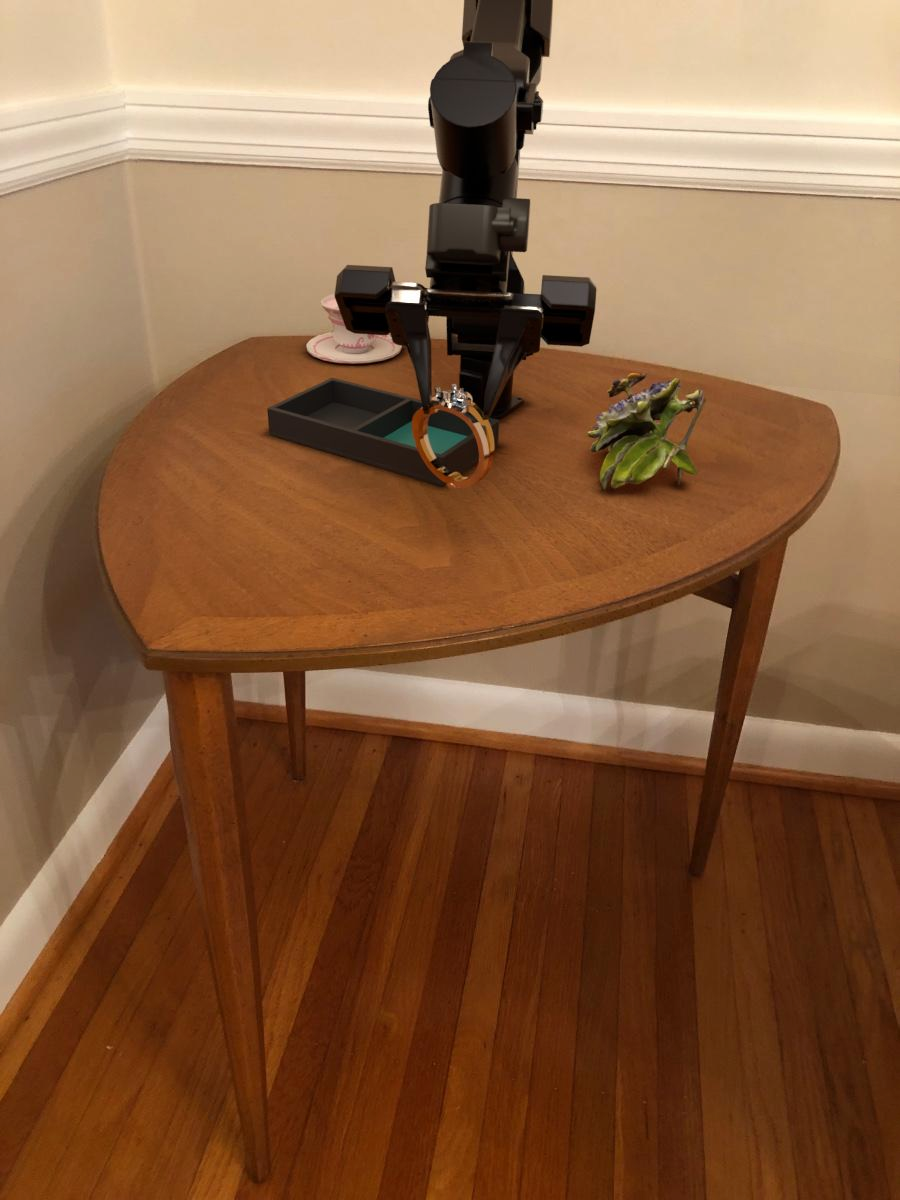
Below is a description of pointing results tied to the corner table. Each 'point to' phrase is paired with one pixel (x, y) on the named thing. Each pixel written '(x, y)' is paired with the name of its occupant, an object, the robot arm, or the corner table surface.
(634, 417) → the passion flower
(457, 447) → the tray
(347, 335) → the teacup
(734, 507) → the corner table surface
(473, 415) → the ring
